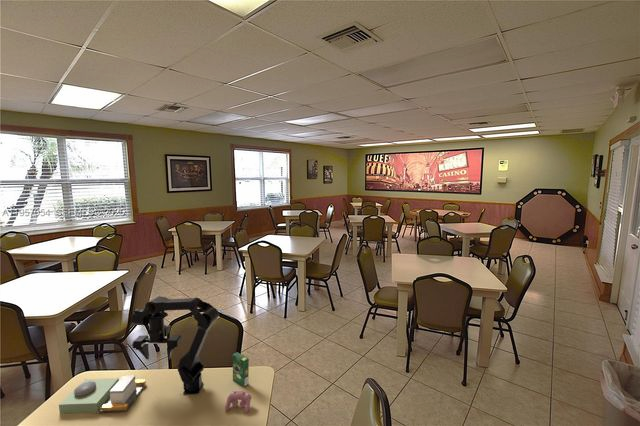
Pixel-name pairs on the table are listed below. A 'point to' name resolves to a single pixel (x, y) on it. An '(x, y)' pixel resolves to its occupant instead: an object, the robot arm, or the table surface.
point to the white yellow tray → (124, 407)
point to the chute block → (123, 389)
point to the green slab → (88, 396)
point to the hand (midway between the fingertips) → (158, 358)
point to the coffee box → (240, 369)
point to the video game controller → (237, 396)
